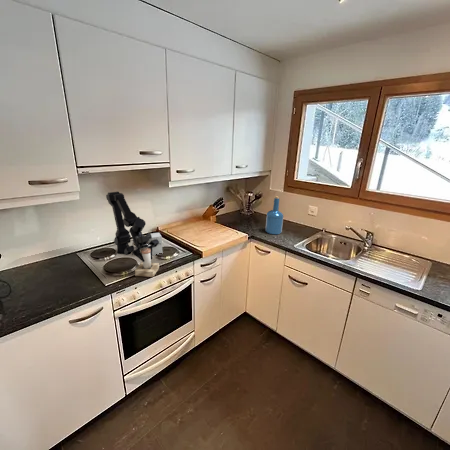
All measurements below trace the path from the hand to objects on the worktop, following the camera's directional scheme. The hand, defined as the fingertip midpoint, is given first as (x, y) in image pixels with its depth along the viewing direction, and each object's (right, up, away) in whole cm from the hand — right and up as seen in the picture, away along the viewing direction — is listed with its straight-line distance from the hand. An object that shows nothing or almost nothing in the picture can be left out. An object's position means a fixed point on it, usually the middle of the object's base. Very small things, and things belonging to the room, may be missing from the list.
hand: (147, 260), depth 141 cm
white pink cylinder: (-1, -5, +3) cm, 6 cm away
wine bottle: (+82, +14, +71) cm, 109 cm away
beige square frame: (-1, -7, +4) cm, 8 cm away
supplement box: (-3, +1, +27) cm, 28 cm away
